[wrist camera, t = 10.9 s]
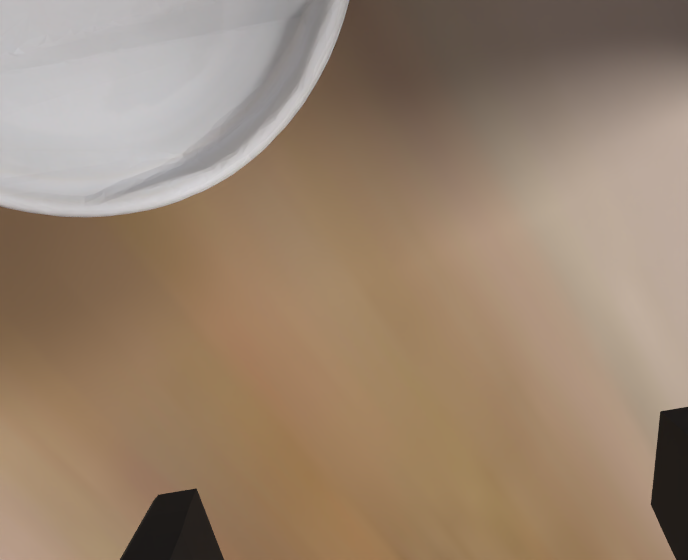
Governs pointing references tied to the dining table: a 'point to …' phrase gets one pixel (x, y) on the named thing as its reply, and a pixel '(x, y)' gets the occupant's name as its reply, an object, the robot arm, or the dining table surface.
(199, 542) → the robot arm
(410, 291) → the dining table surface
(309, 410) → the dining table surface
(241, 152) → the ramekin
